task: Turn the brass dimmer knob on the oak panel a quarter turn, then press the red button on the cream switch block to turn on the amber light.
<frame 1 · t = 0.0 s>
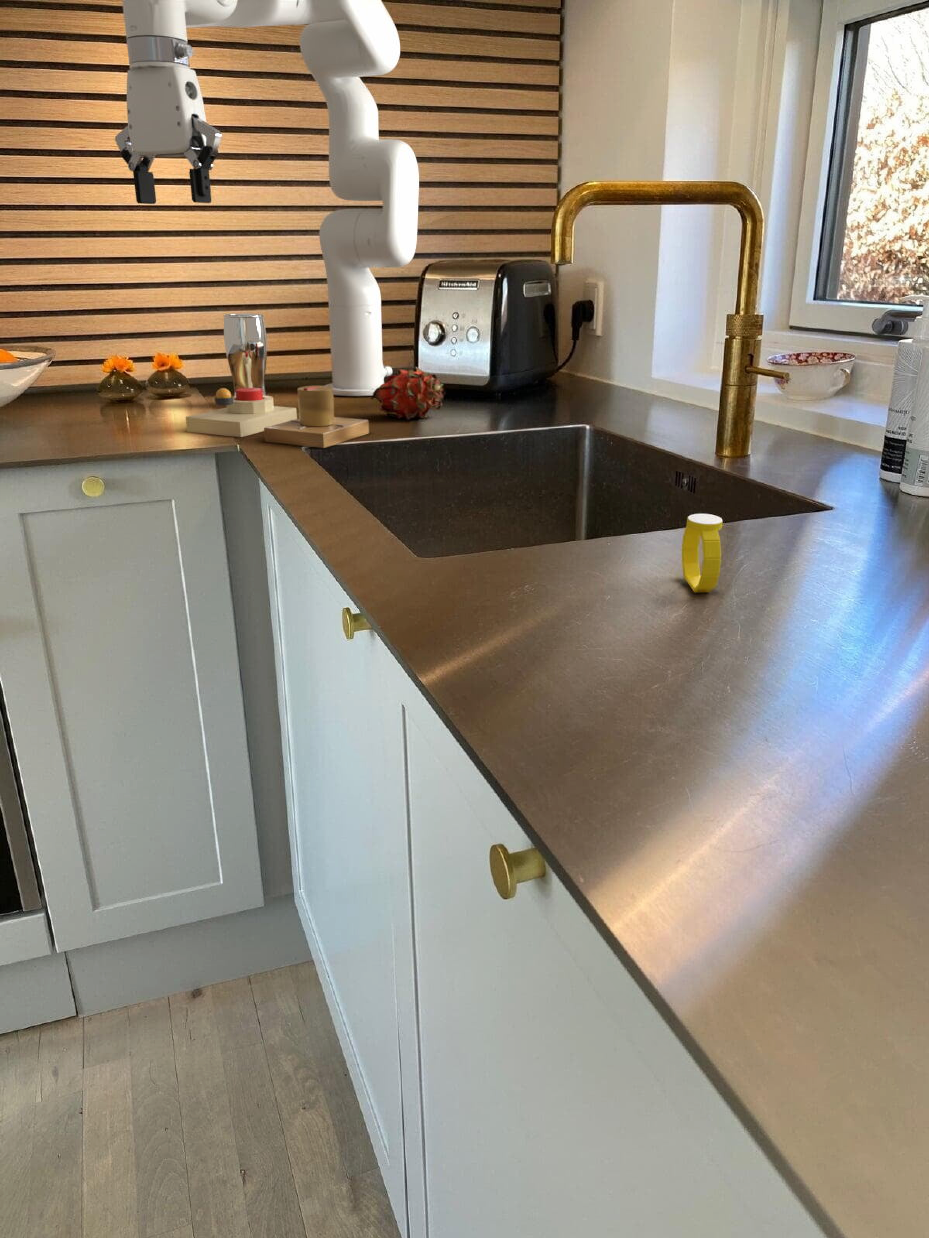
hand: (173, 203, 128), 31 cm above the countertop, tool pointing down, fingers open, 9 cm apart
lamp: (224, 404, 139), resting on switch block
dimmer knob: (316, 404, 135), point 5 cm above the countertop, hinge at 0.0°
switch block: (243, 426, 144), on the countertop
watch: (697, 589, 78), on the countertop
light button: (249, 395, 144), point 4 cm above the countertop, slide at 0.1 cm
beer glass: (251, 407, 162), on the countertop
dimmer panel: (318, 437, 136), on the countertop
dragon fruit: (409, 419, 152), on the countertop
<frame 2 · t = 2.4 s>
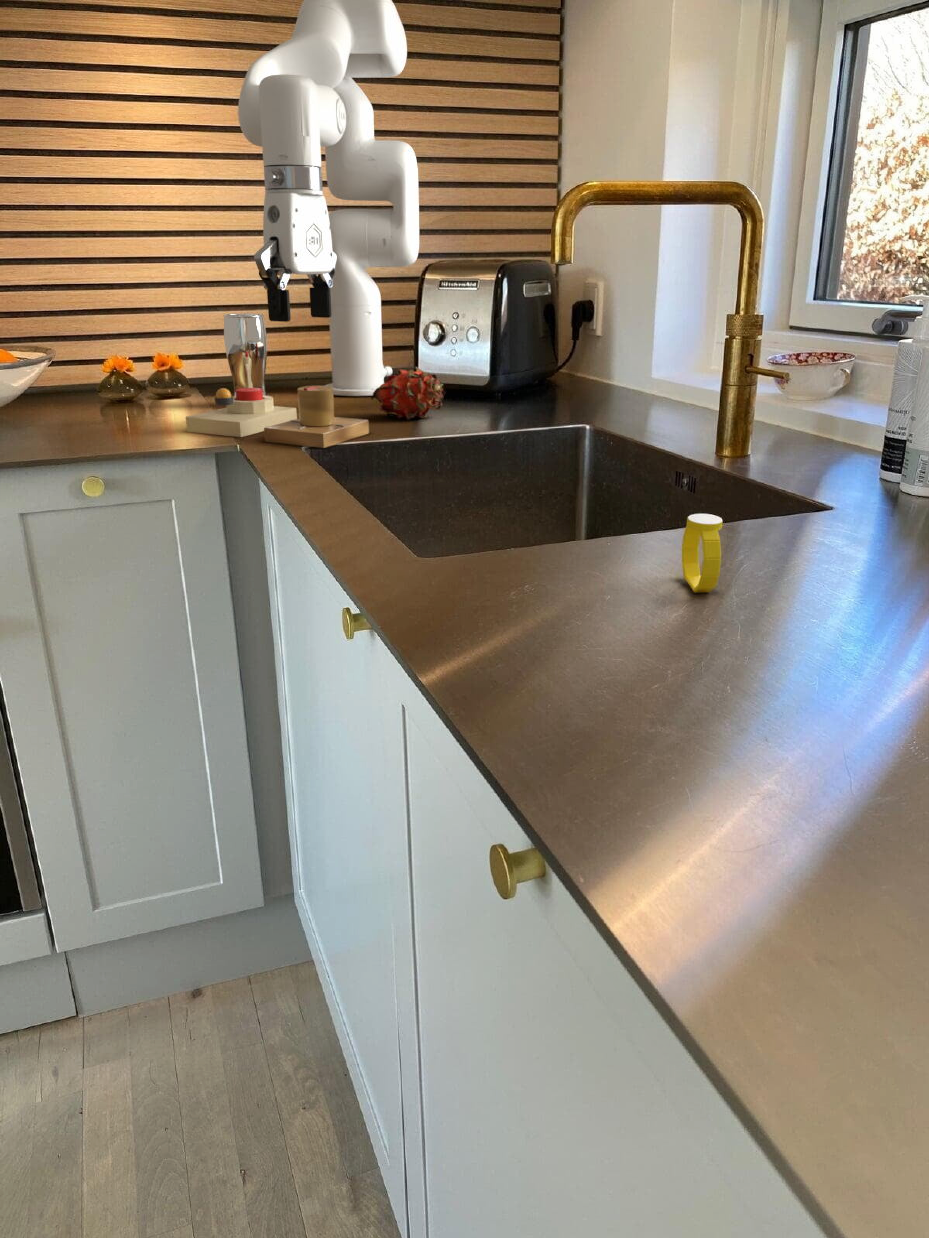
hand: (301, 319, 130), 16 cm above the countertop, tool pointing down, fingers open, 9 cm apart
nothing on the countertop moved.
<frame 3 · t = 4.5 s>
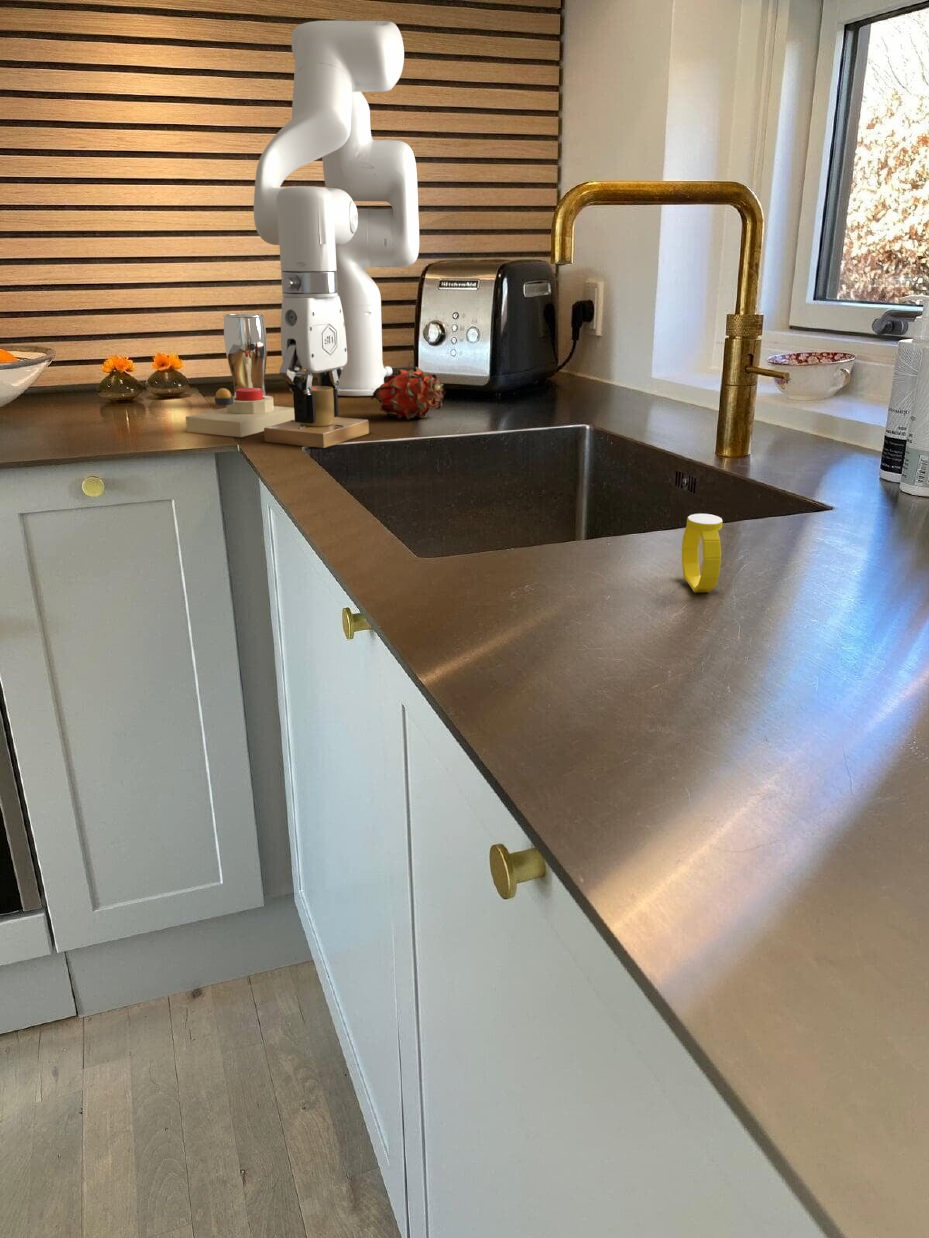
hand: (317, 418, 135), 3 cm above the countertop, tool pointing down, fingers closed on dimmer knob, 5 cm apart
dimmer knob: (316, 404, 135), point 5 cm above the countertop, hinge at -0.1°, touching gripper
everything else where it was.
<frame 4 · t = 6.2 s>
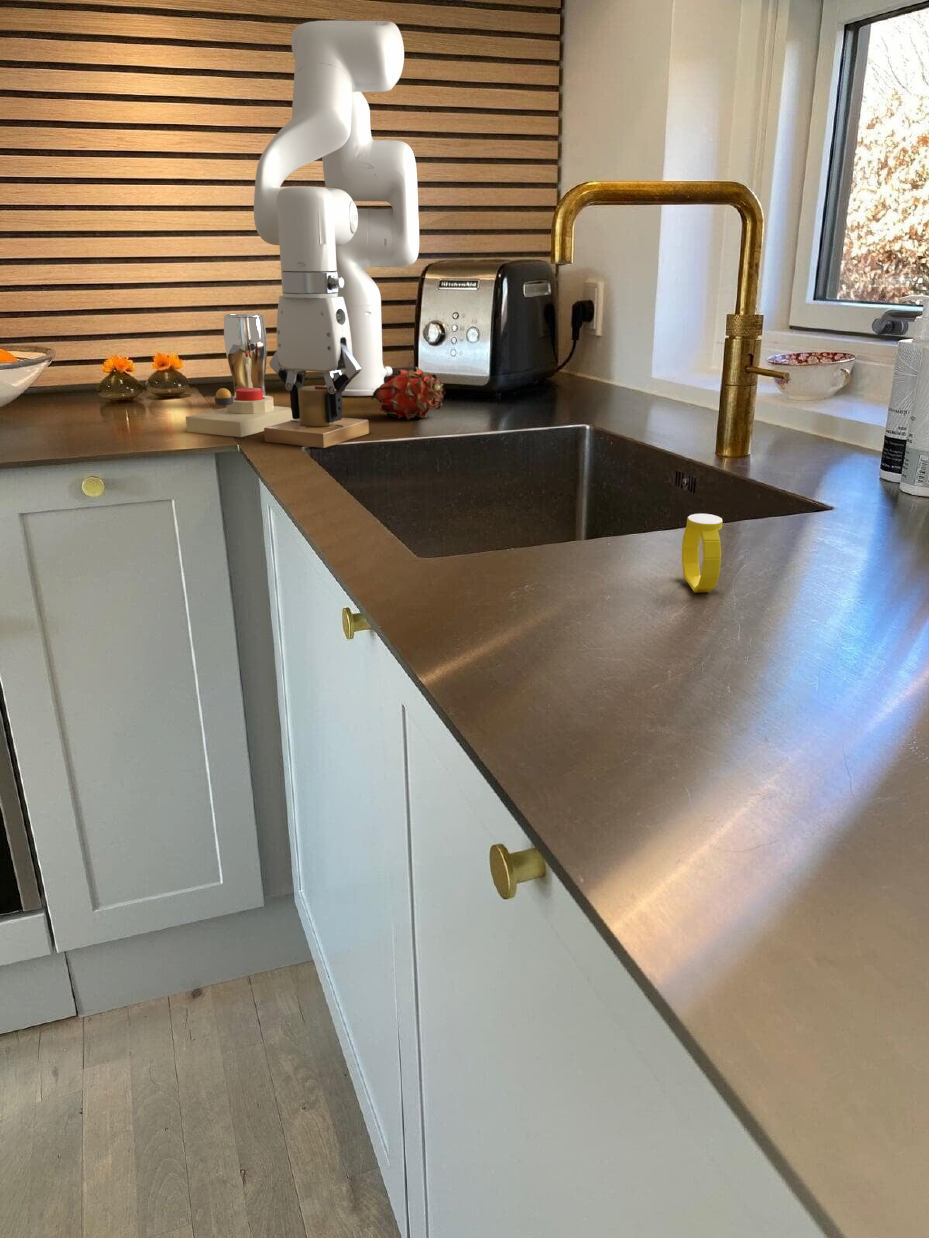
hand: (317, 418, 135), 3 cm above the countertop, tool pointing down, fingers closed on dimmer knob, 5 cm apart
dimmer knob: (316, 404, 135), point 5 cm above the countertop, hinge at 90.9°, touching gripper
everything else where it was.
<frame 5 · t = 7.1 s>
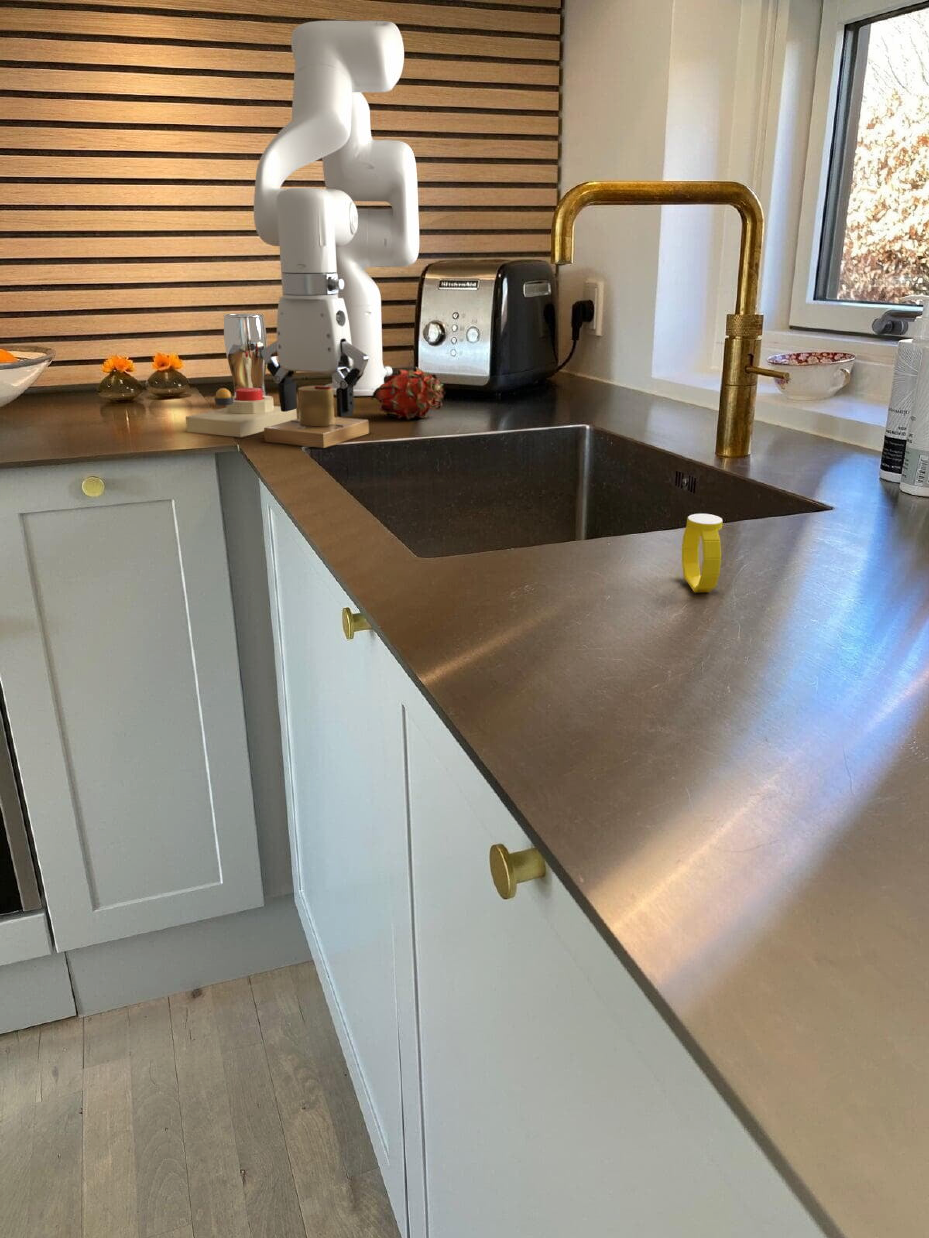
hand: (316, 413, 135), 4 cm above the countertop, tool pointing down, fingers open, 9 cm apart
dimmer knob: (316, 404, 135), point 5 cm above the countertop, hinge at 92.2°
everything else where it was.
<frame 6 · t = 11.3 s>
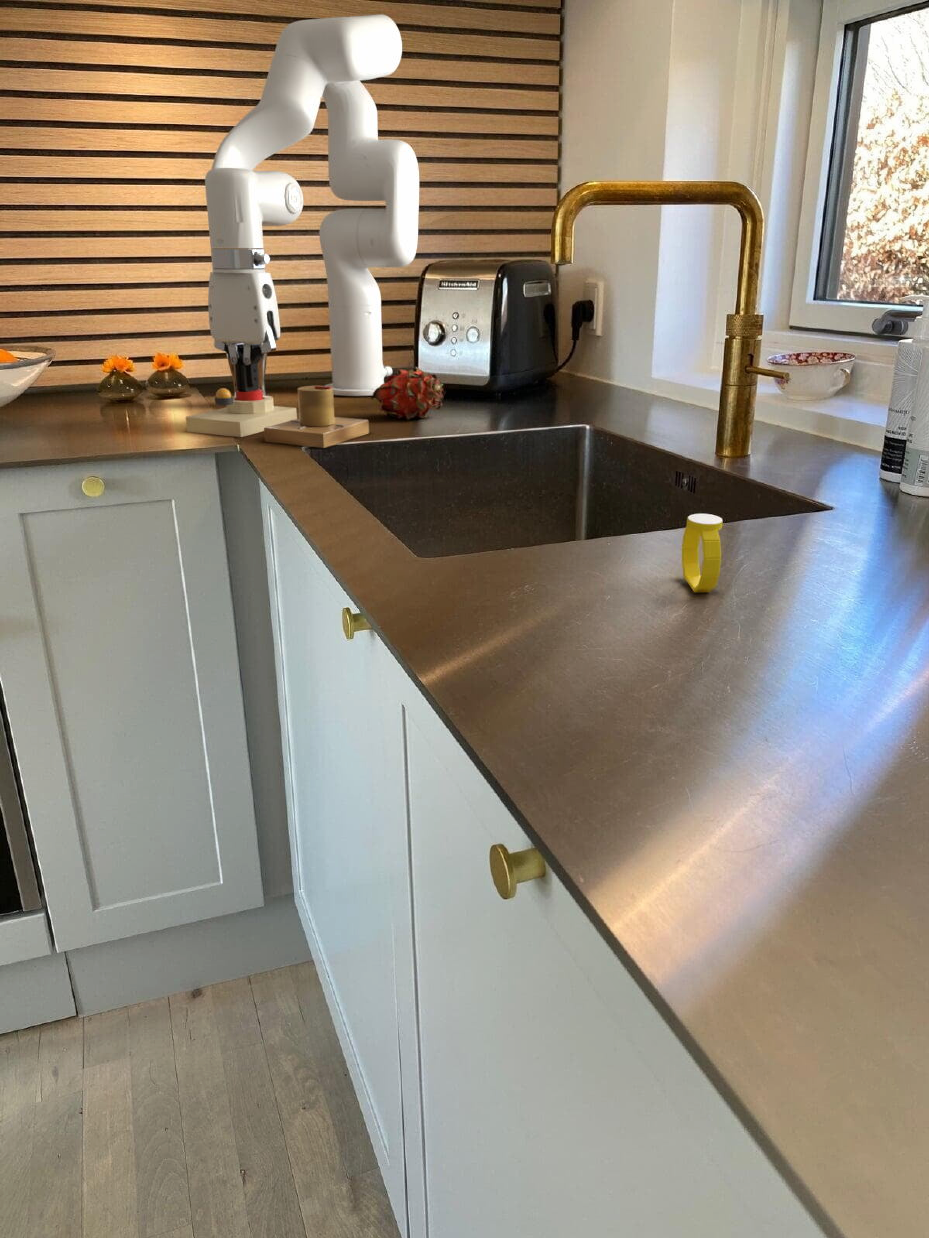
hand: (248, 390, 144), 5 cm above the countertop, tool pointing down, fingers closed
light button: (249, 396, 144), point 4 cm above the countertop, slide at 0.0 cm, touching gripper
everything else where it was.
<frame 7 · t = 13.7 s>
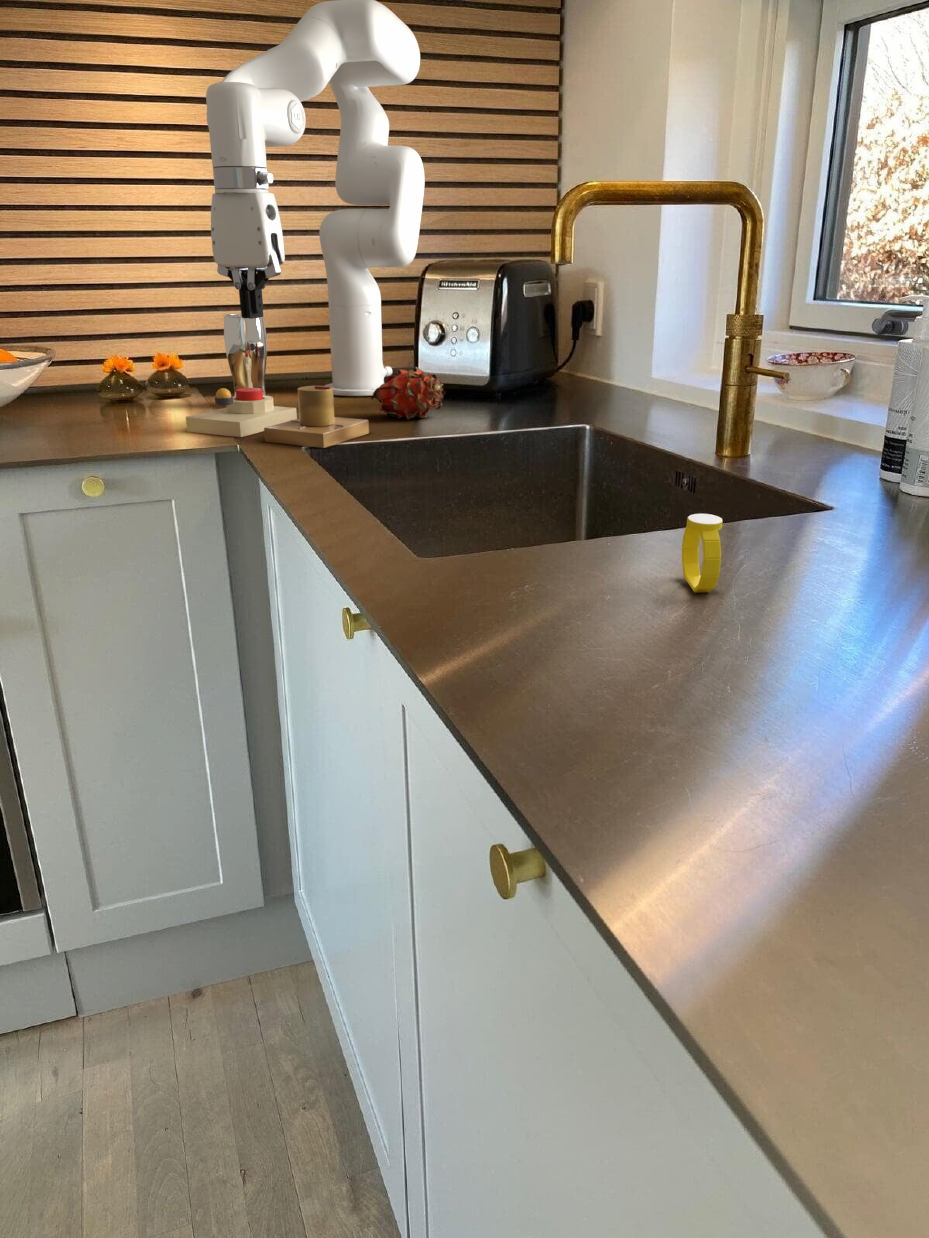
hand: (252, 317, 141), 16 cm above the countertop, tool pointing down, fingers closed
light button: (249, 395, 144), point 4 cm above the countertop, slide at 0.1 cm
everything else where it was.
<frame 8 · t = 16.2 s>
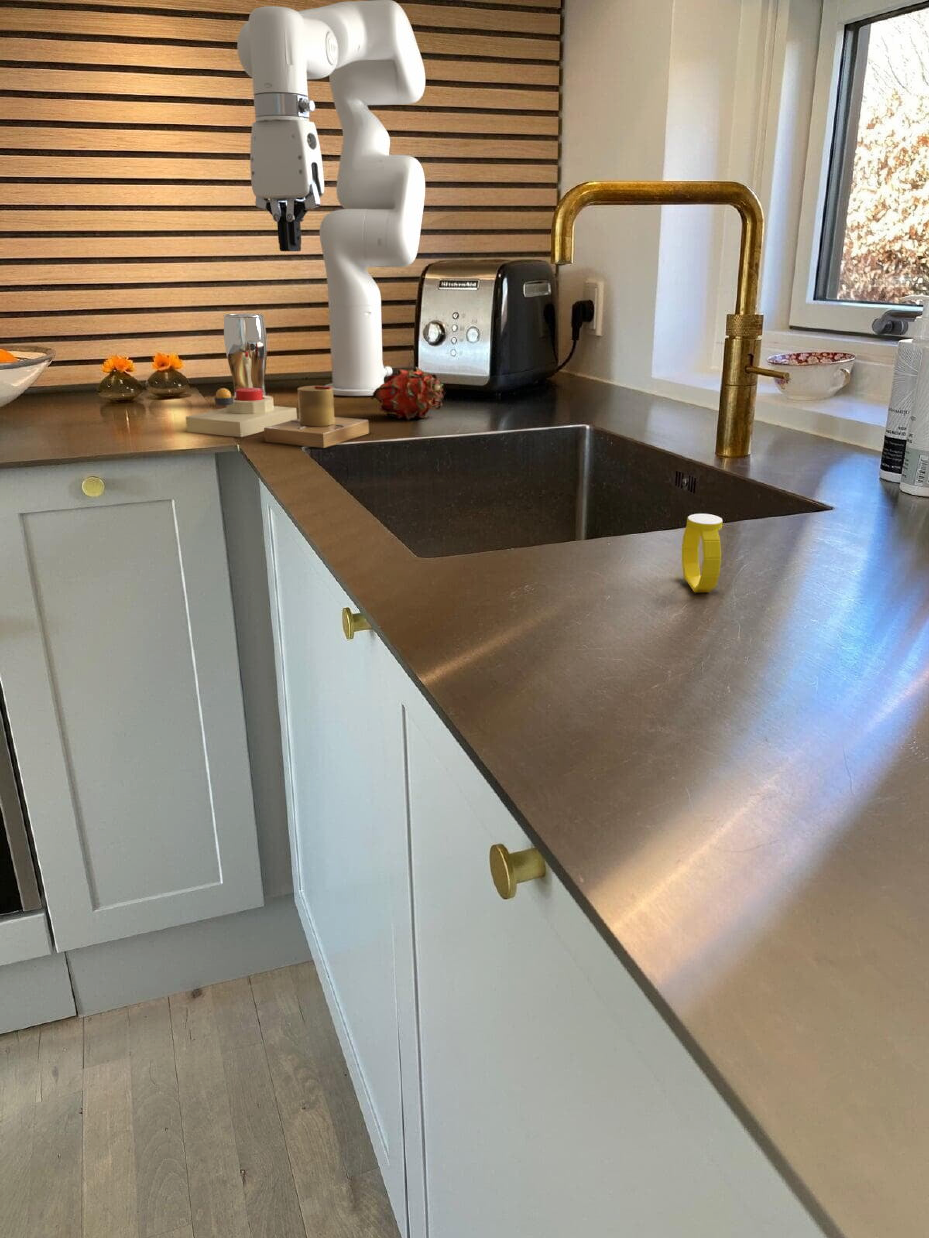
hand: (290, 251, 139), 25 cm above the countertop, tool pointing down, fingers closed
nothing on the countertop moved.
at the end: dimmer knob at +92° (first picture: +0°); light button pushed in 1.1 cm at the most during the clip, back to where it started at the end; light button slide at 0.1 cm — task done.
